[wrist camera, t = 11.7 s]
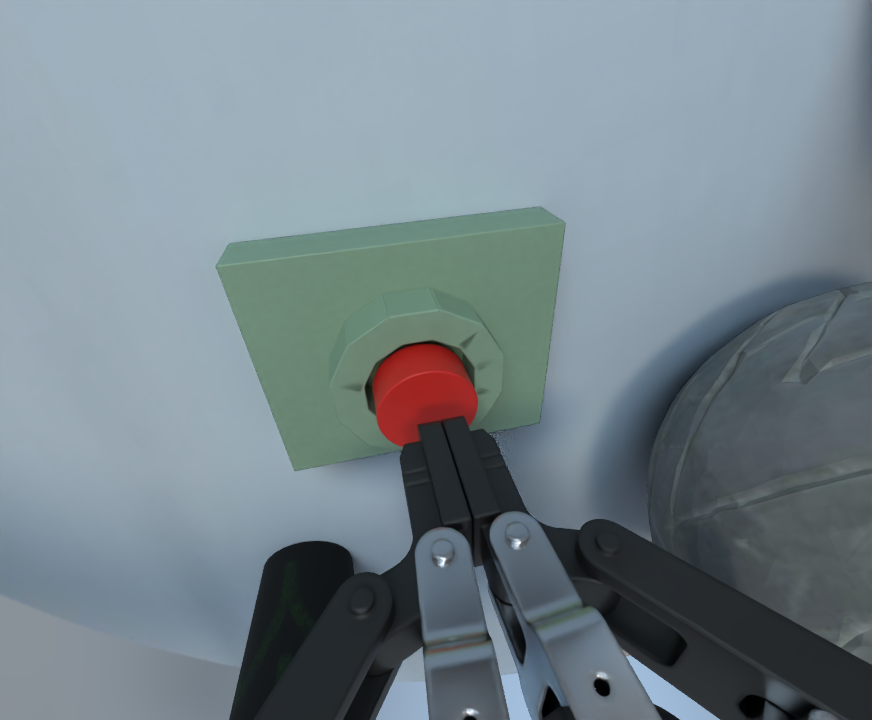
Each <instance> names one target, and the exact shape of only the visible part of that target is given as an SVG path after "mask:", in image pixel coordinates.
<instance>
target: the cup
mask: <svg viewBox="0 0 872 720" xmlns="http://www.w3.org/2000/svg"><path fill="white" fill-rule="evenodd" d="M353 575H354V570H353V563H352V557H351V555H350V553H349V552H348V551H347V550H346V549H345V548H343V547H341V546H339V545H337V544H333V543H329V542H320V541H313V542H303V543H298V544H294V545H291V546H288V547H286V548H283V549H281V550H280V551H278V552H276V553H274V554H273V555H272V556H271V557H270V558H269V559H268V560H267V562H266V563H265V565H264V570H263V574H262V578H261V583H260V587H259V591H258V596H257V600H256V605H255V609H254V613H253V618H252V622H251V627H250V631H249V635H248V640H247V644H246V648H245V653H244V657H243V662H242V666H241V670H240V675H239V680H238V684H237V688H236V693H235V697H234V701H233V706H232V710H231V715H230V719H229V720H253V719H254V718H255V716H256V714H257V713H258V711H259V710H260V708H261V707H262V705H263V704H264V702H265V701H266V699H267V698H268V696H269V694H270V693H271V691H272V690H273V688H274V687H275V685H276V684H277V682H278V681H279V679H280V677H281V676H282V674H283V673H284V671H285V670H286V668H287V667H288V665H289V664H290V662H291V661H292V659H293V657H294V656H295V654H296V653H297V651H298V650H299V648H300V647H301V645H302V644H303V642H304V641H305V639H306V637H307V636H308V634H309V633H310V631H311V630H312V628H313V627H314V625H315V624H316V622H317V621H318V619H319V617H320V616H321V614H322V613H323V611H324V610H325V608H326V607H327V605H328V604H329V602H330V601H331V599H332V597H333V596H334V594H335V593H336V591H337V590H338V588H339V587H340V586H341V585H342V584H343V583H344V582H345V581H346V580H347V579H348V578H350V577H352V576H353ZM375 720H376V719H375Z"/></svg>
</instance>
